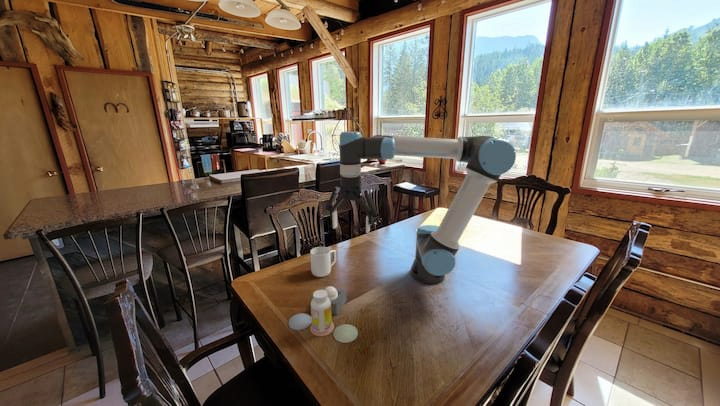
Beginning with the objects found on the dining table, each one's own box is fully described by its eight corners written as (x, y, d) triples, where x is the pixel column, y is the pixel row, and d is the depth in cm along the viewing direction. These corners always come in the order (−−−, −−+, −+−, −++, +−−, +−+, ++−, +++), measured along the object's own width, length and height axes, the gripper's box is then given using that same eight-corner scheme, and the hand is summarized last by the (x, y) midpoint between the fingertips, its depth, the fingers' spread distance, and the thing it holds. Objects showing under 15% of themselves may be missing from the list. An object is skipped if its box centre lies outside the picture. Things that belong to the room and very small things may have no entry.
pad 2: (338, 322, 99) (337, 321, 99) (327, 338, 91) (327, 337, 91) (317, 317, 101) (317, 316, 101) (305, 332, 94) (305, 331, 94)
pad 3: (361, 328, 96) (361, 327, 96) (352, 345, 89) (352, 344, 89) (339, 323, 99) (339, 322, 98) (329, 339, 91) (329, 338, 91)
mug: (315, 280, 125) (314, 257, 121) (308, 271, 132) (307, 249, 129) (340, 273, 130) (339, 251, 127) (332, 264, 138) (331, 243, 134)
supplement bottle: (331, 319, 100) (330, 287, 96) (331, 332, 94) (330, 299, 90) (312, 320, 99) (310, 288, 96) (311, 334, 93) (309, 300, 89)
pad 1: (316, 317, 101) (316, 316, 101) (304, 332, 94) (304, 331, 94) (296, 312, 104) (296, 311, 104) (283, 326, 97) (283, 325, 97)
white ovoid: (340, 299, 109) (340, 284, 107) (334, 308, 104) (333, 293, 102) (327, 297, 111) (326, 282, 109) (320, 305, 106) (319, 290, 104)
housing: (346, 300, 111) (346, 290, 109) (336, 315, 102) (336, 304, 101) (325, 295, 114) (324, 286, 112) (314, 309, 105) (313, 299, 104)
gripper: (386, 175, 103) (385, 230, 109) (324, 171, 111) (326, 222, 117) (380, 179, 96) (379, 237, 102) (315, 175, 104) (317, 229, 110)
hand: (351, 229), depth 110 cm, fingers open, 13 cm apart
